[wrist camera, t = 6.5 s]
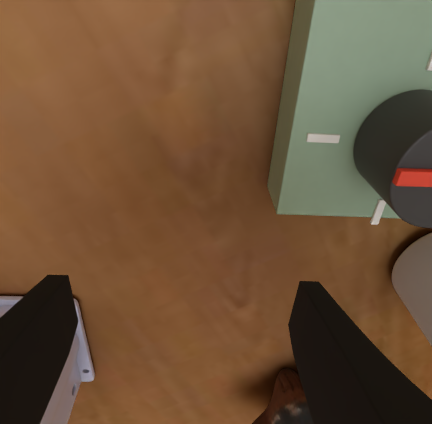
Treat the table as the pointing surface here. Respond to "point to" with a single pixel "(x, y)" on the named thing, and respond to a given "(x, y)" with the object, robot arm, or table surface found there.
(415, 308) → the beverage can
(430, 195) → the dial
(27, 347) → the robot arm
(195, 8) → the table surface
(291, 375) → the decorative turtle
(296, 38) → the dial panel
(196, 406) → the table surface
